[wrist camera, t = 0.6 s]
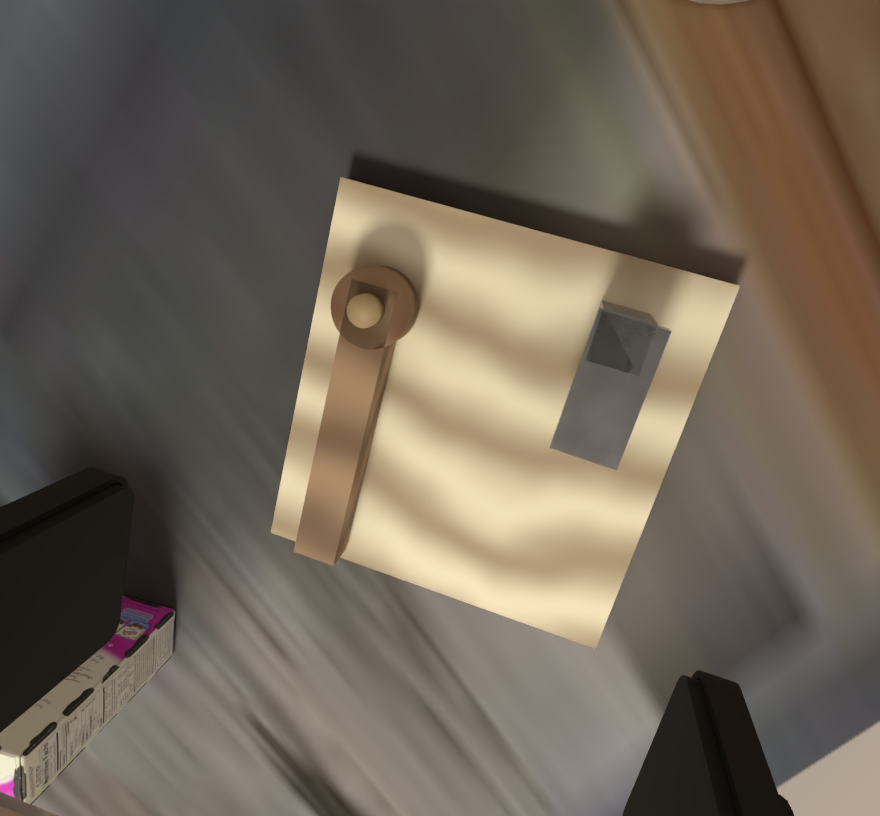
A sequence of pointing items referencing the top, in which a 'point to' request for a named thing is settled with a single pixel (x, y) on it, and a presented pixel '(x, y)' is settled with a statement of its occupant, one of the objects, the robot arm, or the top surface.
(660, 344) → the block
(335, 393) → the walnut link
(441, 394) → the birch board
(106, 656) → the candy bar box
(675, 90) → the top surface
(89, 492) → the robot arm
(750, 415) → the top surface
